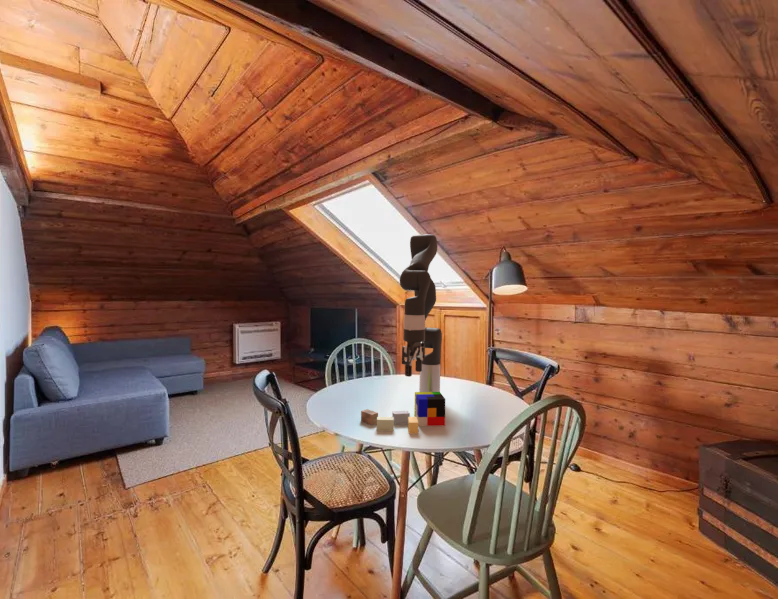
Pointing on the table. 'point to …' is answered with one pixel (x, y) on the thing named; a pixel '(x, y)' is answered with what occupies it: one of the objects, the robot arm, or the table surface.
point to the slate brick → (400, 417)
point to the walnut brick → (369, 417)
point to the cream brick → (385, 423)
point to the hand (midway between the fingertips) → (413, 373)
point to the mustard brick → (412, 425)
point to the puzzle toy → (429, 408)
